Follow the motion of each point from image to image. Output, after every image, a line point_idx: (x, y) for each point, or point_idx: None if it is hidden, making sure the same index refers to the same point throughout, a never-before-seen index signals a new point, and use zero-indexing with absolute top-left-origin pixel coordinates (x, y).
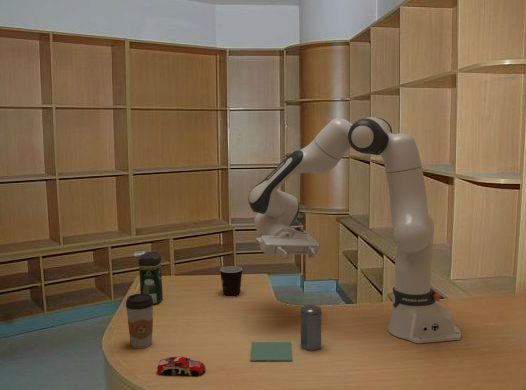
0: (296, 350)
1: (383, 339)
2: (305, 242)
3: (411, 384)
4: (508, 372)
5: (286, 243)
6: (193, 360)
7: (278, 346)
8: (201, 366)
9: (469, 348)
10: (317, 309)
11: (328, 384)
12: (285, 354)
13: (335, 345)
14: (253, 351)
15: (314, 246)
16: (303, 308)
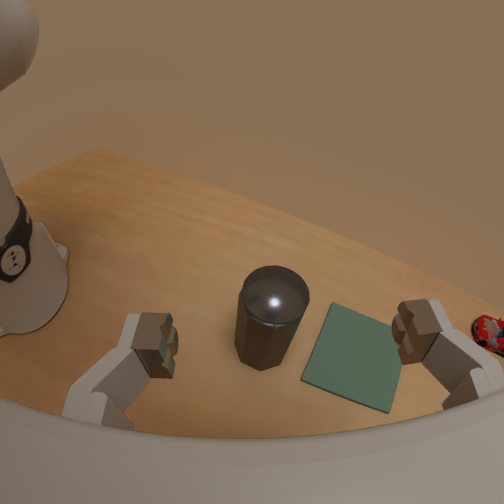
0: (302, 343)
1: (94, 294)
2: (78, 486)
3: (193, 180)
4: (76, 162)
5: (431, 437)
6: (493, 338)
7: (338, 369)
8: (481, 320)
9: (37, 210)
10: (260, 278)
11: (303, 222)
12: (337, 327)
13: (203, 324)
14: (396, 366)
15: (32, 408)
16: (298, 303)
